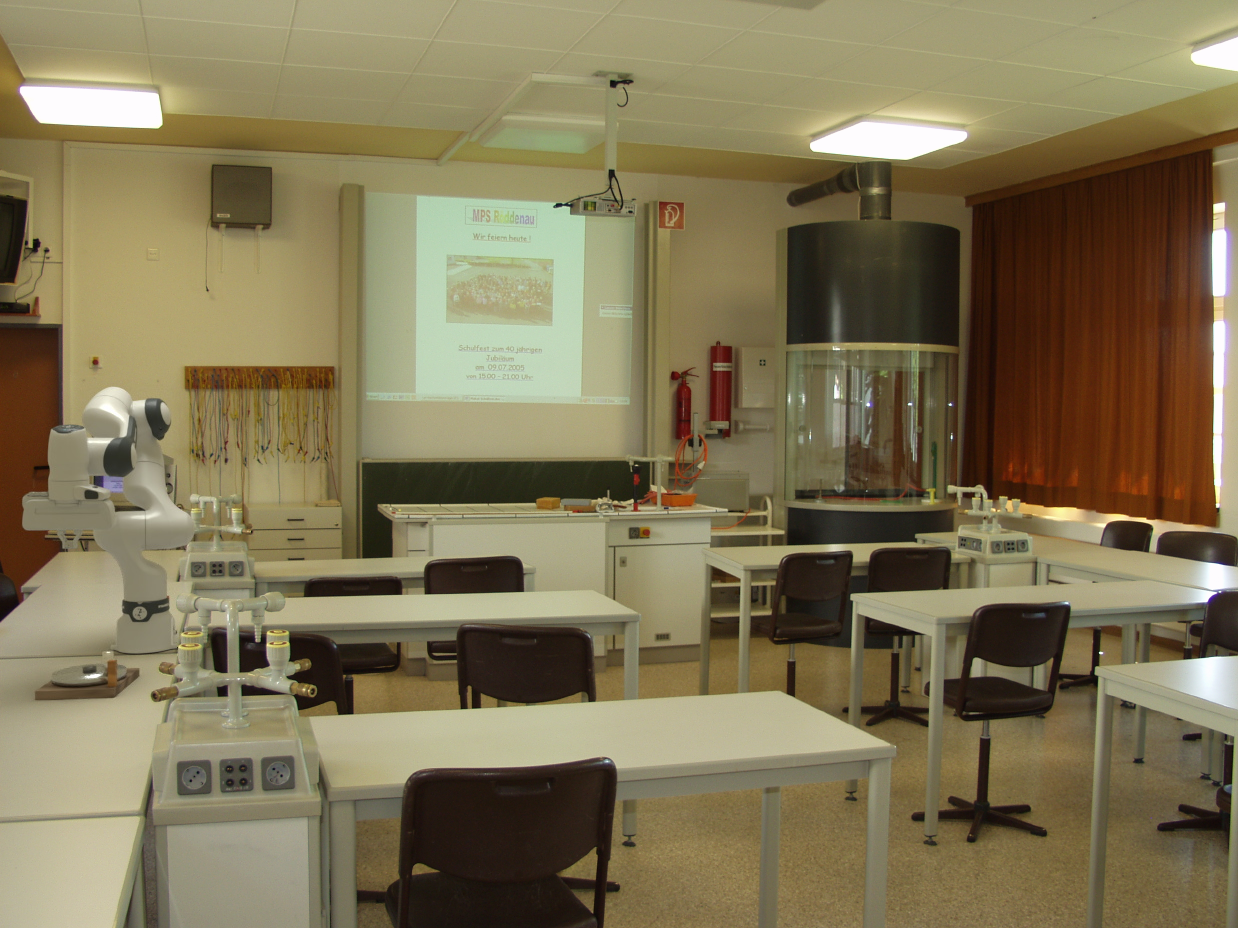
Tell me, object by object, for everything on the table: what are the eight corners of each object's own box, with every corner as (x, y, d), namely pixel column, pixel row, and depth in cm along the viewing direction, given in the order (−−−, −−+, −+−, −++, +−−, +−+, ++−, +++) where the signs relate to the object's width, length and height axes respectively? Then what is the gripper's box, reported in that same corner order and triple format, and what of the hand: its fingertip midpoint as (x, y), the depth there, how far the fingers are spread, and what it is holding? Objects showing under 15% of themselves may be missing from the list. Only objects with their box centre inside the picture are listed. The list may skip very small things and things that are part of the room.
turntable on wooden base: (66, 677, 251) (66, 645, 251) (139, 675, 254) (139, 644, 254) (35, 699, 232) (34, 665, 231) (114, 697, 235) (114, 663, 234)
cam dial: (36, 680, 240) (36, 650, 239) (99, 666, 254) (99, 638, 253) (79, 689, 232) (79, 658, 232) (141, 674, 246) (141, 645, 246)
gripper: (17, 493, 240) (18, 550, 241) (110, 493, 244) (111, 549, 245) (27, 490, 246) (28, 546, 247) (117, 490, 250) (118, 545, 251)
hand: (70, 548), depth 246 cm, fingers closed
